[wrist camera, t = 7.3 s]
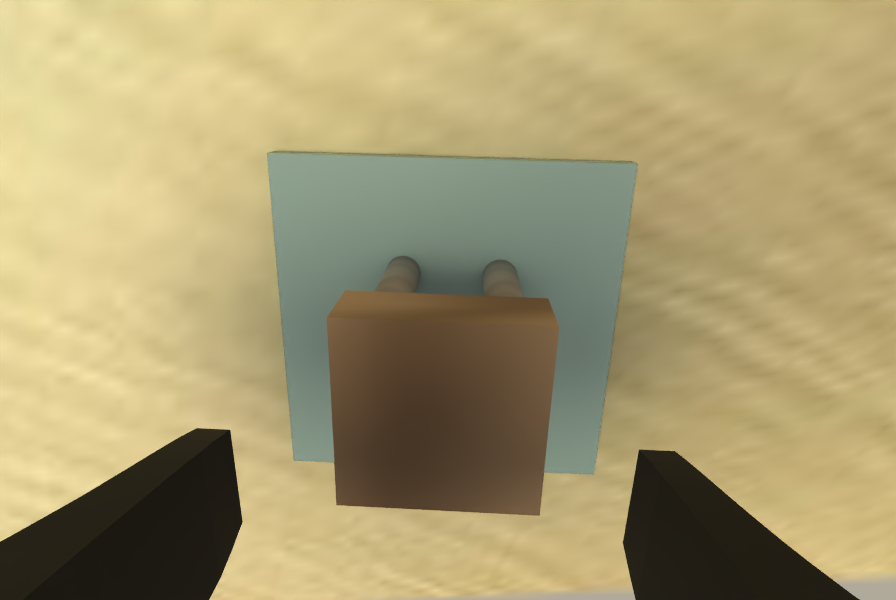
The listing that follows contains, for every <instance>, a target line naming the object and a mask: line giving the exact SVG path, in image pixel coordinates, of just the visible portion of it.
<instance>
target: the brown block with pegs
mask: <svg viewBox="0 0 896 600" xmlns="http://www.w3.org/2000/svg"><path fill="white" fill-rule="evenodd" d="M420 275H421V271H420V267H419V265H418V263H417V262H416V261H415V260H414V259H412V258H410V257H408V256H398V257H396V258H394V259H392V260H391V261H390V262H389V264H388V266H387V268H386V270H385V272H384V274H383V276H382V278H381V279H380V281H379V283H378V285H377V287H376V289H375V291H352V290H345V291H344V293H343V294H342V296H341V297H340V299H339V300H338V302H337V303H336V305H335V306H334V308H333V309H332V311H331V312H330V314H329V315H328V316H327V333H328V352H329V371H330V390H331V409H332V428H333V446H334V465H335V484H336V503H337V505H345V506H364V507H384V508H403V509H422V510H442V511H461V512H480V513H499V514H519V515H538V516H539V515H540V505H541V496H542V486H543V477H544V468H545V458H546V449H547V439H548V430H549V420H550V411H551V401H552V392H553V383H554V373H555V364H556V354H557V345H558V335H559V325H558V323H557V320H556V317H555V315H554V312H553V309H552V307H551V304H550V302H549V299H548V298H527V297H523V294H522V290H521V286H520V282H519V278H518V275H517V271H516V268H515V267H514V266H513V264H511V263H510V262H508V261H506V260H494V261H492V262H490V263H489V264H488V265H487V266H486V267H485V269H484V271H483V292H484V296H477V295H452V294H427V293H416V289H417V286H418V283H419V279H420Z"/></svg>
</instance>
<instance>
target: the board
mask: <svg viewBox="0 0 896 600" xmlns="http://www.w3.org/2000/svg"><path fill="white" fill-rule="evenodd" d="M267 158H268V170H269V181H270V193H271V204H272V216H273V227H274V239H275V250H276V262H277V273H278V285H279V296H280V308H281V319H282V331H283V342H284V354H285V365H286V377H287V388H288V400H289V411H290V423H291V434H292V446H293V457H294V461H316V462H334V446H333V428H332V409H331V390H330V371H329V352H328V333H327V316H328V315H329V314H330V312H331V311H332V309H333V308H334V306H335V305H336V303H337V302H338V300H339V299H340V297H341V296H342V294H343V293H344V291H345V290H352V291H375V289H376V287H377V285H378V283H379V281H380V279H381V278H382V276H383V274H384V272H385V270H386V268H387V266H388V264H389V262H390V261H391V260H392V259H394V258H396V257H398V256H408V257H410V258H412V259H414V260H415V261H416V262H417V263H418V265H419V267H420V271H421V275H420V279H419V283H418V286H417V289H416V293H427V294H452V295H477V296H484V292H483V271H484V269H485V267H486V266H487V265H488V264H489V263H490V262H492V261H494V260H506V261H508V262H510V263H511V264H513V266H514V267H515V268H516V271H517V275H518V278H519V282H520V286H521V290H522V294H523V297H527V298H548V299H549V302H550V304H551V307H552V309H553V312H554V315H555V317H556V320H557V323H558V325H559V335H558V345H557V354H556V364H555V373H554V383H553V392H552V401H551V411H550V420H549V430H548V439H547V449H546V458H545V468H544V472H550V473H571V474H592V475H594V470H595V463H596V456H597V449H598V442H599V435H600V428H601V420H602V413H603V406H604V399H605V392H606V385H607V378H608V371H609V364H610V356H611V349H612V342H613V335H614V328H615V321H616V314H617V307H618V300H619V292H620V285H621V278H622V271H623V264H624V257H625V250H626V243H627V236H628V228H629V221H630V214H631V207H632V200H633V193H634V186H635V179H636V172H637V164H636V163H633V162H625V161H591V160H556V159H522V158H488V157H454V156H420V155H386V154H352V153H318V152H283V151H274V152H270V153H267Z"/></svg>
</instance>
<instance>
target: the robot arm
mask: <svg viewBox="0 0 896 600" xmlns="http://www.w3.org/2000/svg"><path fill="white" fill-rule="evenodd" d="M241 525H242V515H241V507H240V500H239V492H238V485H237V477H236V470H235V462H234V455H233V447H232V440H231V432H230V430H220V429H200V428H197V429H195V430H193V431H191V432H189V433H187V434H185V435H183V436H181V437H179V438H178V439H176V440H174V441H173V442H171V443H169V444H167V445H166V446H164V447H162V448H161V449H159V450H157V451H156V452H154V453H152V454H151V455H149V456H147V457H146V458H144V459H143V460H141V461H139V462H138V463H136V464H134V465H133V466H131V467H129V468H128V469H126V470H124V471H123V472H121V473H119V474H118V475H116V476H114V477H113V478H111V479H109V480H108V481H106V482H104V483H103V484H101V485H100V486H98V487H96V488H95V489H93V490H91V491H90V492H88V493H86V494H85V495H83V496H81V497H79V498H78V499H76V500H74V501H72V502H71V503H69V504H67V505H65V506H64V507H62V508H60V509H58V510H56V511H55V512H53V513H51V514H49V515H47V516H46V517H44V518H42V519H40V520H39V521H37V522H35V523H33V524H31V525H30V526H28V527H26V528H24V529H23V530H21V531H19V532H17V533H15V534H14V535H12V536H10V537H8V538H6V539H5V540H3V541H1V542H0V600H209V599H210V597H211V595H212V593H213V591H214V589H215V587H216V585H217V583H218V582H219V580H220V578H221V575H222V573H223V570H224V568H225V566H226V563H227V561H228V558H229V556H230V554H231V551H232V548H233V546H234V543H235V540H236V538H237V535H238V532H239V530H240V527H241ZM623 545H624V550H625V554H626V559H627V564H628V568H629V573H630V578H631V582H632V586H633V590H634V594H635V599H636V600H859V599H858V598H856V597H855V596H853V595H852V594H851V593H849V592H848V591H847V590H845V589H844V588H843V587H841V586H840V585H839V584H837V583H836V582H835V581H833V580H832V579H831V578H829V577H828V576H827V575H825V574H824V573H823V572H821V571H820V570H819V569H818V568H816V567H815V566H814V565H812V564H811V563H810V562H808V561H807V560H806V559H804V558H803V557H802V556H801V555H799V554H798V553H797V552H796V551H794V550H793V549H792V548H790V547H789V546H788V545H787V544H785V543H784V542H783V541H782V540H780V539H779V538H778V537H777V536H776V535H774V534H773V533H772V532H771V531H769V530H768V529H767V528H766V527H765V526H763V525H762V524H761V523H760V522H759V521H757V520H756V519H755V518H754V517H752V516H751V515H750V514H749V513H748V512H747V511H745V510H744V509H743V508H742V507H741V506H739V505H738V504H737V503H736V502H735V501H734V500H732V499H731V498H730V497H729V496H728V495H727V494H725V493H724V492H723V491H722V490H721V489H720V488H718V487H717V486H716V485H715V484H714V483H713V482H711V481H710V480H709V479H708V478H707V477H706V476H704V475H703V474H702V473H701V472H700V471H699V470H697V469H696V468H695V467H694V466H693V465H691V464H690V463H689V462H688V461H687V460H685V459H684V458H683V457H682V456H680V455H679V454H678V453H676V452H675V451H656V450H639V453H638V459H637V465H636V471H635V476H634V482H633V488H632V494H631V500H630V505H629V511H628V517H627V523H626V528H625V534H624V540H623Z"/></svg>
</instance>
